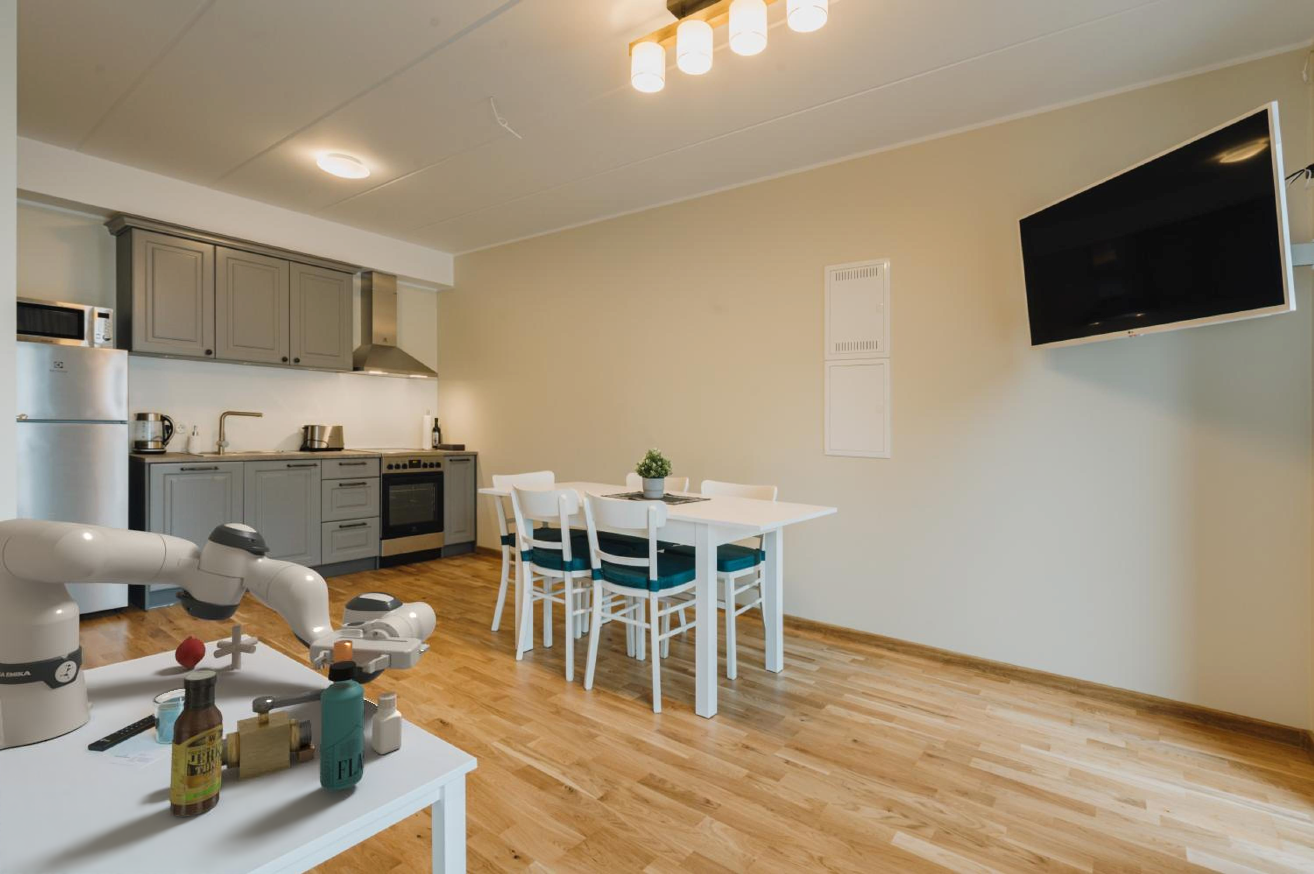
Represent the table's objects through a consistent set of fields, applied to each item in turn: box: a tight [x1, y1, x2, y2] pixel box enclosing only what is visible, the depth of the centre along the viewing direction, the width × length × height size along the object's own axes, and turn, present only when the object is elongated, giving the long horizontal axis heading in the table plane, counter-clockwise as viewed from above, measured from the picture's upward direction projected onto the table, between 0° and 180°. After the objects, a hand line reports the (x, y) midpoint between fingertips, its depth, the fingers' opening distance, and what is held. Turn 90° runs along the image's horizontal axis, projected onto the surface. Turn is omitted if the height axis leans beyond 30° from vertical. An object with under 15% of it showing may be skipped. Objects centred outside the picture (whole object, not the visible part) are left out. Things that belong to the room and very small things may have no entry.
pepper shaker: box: [371, 691, 403, 755], centre depth 114 cm, size 4×4×10 cm
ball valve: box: [222, 710, 316, 782], centre depth 106 cm, size 18×6×10 cm, turn 128°
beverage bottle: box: [318, 661, 366, 791], centre depth 101 cm, size 6×7×20 cm
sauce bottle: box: [169, 670, 224, 817], centre depth 96 cm, size 6×6×20 cm
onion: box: [174, 634, 207, 670], centre depth 149 cm, size 6×6×8 cm
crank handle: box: [251, 640, 353, 714], centre depth 110 cm, size 15×3×9 cm, turn 122°
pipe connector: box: [213, 624, 259, 671], centre depth 150 cm, size 10×10×10 cm
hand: (341, 667), depth 113 cm, fingers open, 8 cm apart
